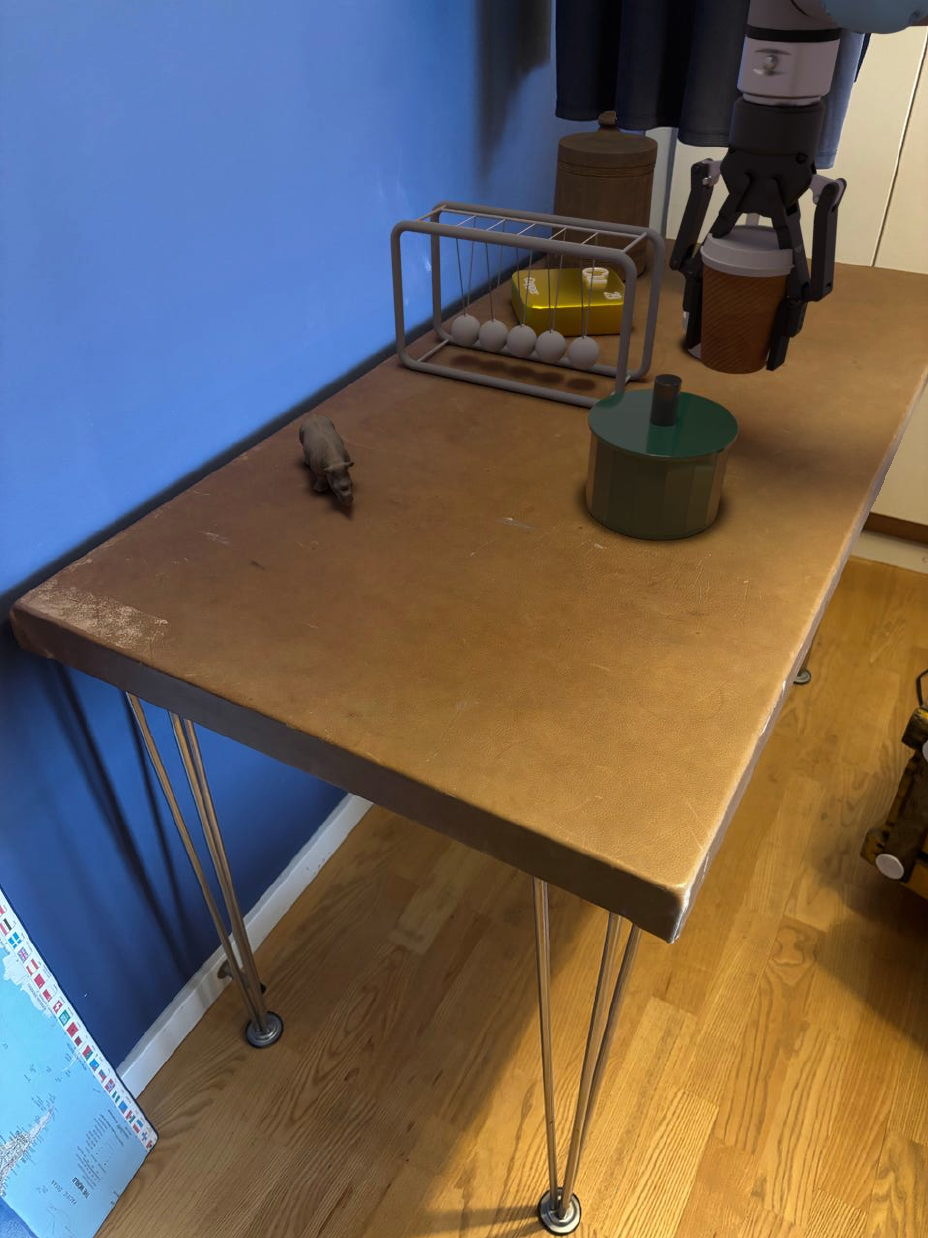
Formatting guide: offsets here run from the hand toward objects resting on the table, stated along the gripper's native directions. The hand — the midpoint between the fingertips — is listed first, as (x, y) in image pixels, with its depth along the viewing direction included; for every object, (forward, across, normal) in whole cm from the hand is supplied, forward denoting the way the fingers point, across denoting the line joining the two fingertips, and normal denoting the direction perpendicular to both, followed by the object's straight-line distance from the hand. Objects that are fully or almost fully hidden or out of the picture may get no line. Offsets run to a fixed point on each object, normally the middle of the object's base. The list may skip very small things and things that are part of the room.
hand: (733, 354), depth 91 cm
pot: (+11, 0, -14) cm, 18 cm away
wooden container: (+11, -42, +43) cm, 61 cm away
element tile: (+11, -34, +23) cm, 42 cm away
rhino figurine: (+11, -27, -31) cm, 42 cm away
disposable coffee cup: (+1, 0, 0) cm, 1 cm away
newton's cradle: (+11, -28, +3) cm, 30 cm away
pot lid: (+2, 0, -14) cm, 14 cm away
